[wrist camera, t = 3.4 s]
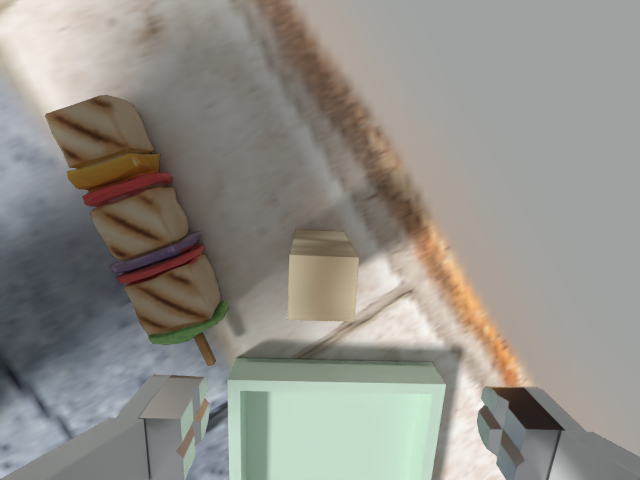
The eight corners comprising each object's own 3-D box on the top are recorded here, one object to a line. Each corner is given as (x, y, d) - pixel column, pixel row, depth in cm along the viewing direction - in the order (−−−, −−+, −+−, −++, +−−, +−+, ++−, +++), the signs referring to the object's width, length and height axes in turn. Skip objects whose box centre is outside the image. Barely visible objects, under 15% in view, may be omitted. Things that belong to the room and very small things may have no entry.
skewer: (74, 129, 23) (10, 117, 18) (152, 101, 23) (109, 81, 18) (186, 358, 27) (159, 398, 22) (252, 336, 27) (240, 372, 22)
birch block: (294, 275, 26) (287, 319, 18) (295, 229, 25) (289, 254, 17) (340, 277, 26) (354, 321, 18) (343, 231, 25) (359, 257, 17)
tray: (238, 513, 31) (231, 548, 28) (236, 357, 27) (227, 379, 24) (410, 513, 32) (420, 547, 29) (432, 362, 28) (446, 384, 25)
